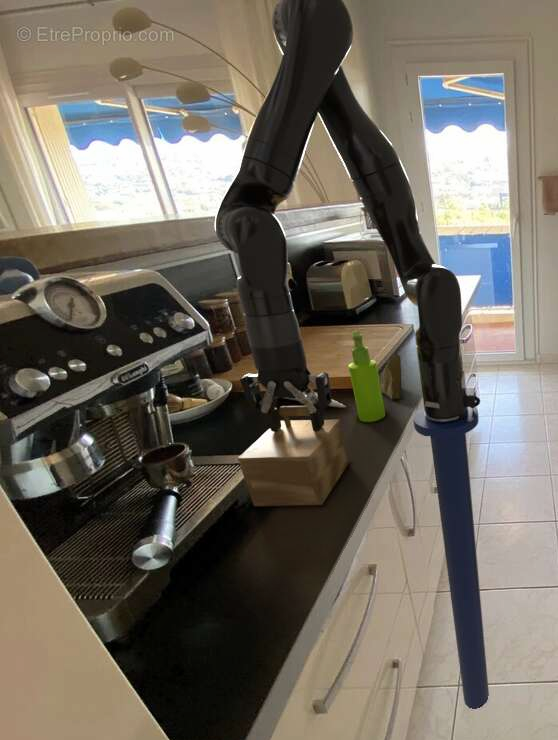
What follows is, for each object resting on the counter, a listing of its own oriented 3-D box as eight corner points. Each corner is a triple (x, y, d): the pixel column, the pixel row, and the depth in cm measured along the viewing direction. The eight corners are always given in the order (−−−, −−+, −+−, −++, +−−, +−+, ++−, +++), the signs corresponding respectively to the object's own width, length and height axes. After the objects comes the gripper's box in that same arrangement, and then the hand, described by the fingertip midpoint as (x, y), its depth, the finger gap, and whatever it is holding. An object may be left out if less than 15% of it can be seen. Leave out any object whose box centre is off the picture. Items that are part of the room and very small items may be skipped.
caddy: (288, 465, 86) (277, 425, 82) (348, 464, 86) (339, 424, 83) (253, 506, 75) (238, 462, 71) (322, 504, 75) (310, 461, 71)
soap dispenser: (384, 407, 109) (370, 327, 100) (386, 419, 103) (371, 335, 95) (358, 411, 107) (342, 330, 99) (359, 424, 101) (342, 339, 93)
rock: (409, 392, 111) (419, 372, 119) (383, 368, 107) (395, 350, 116) (380, 414, 115) (391, 393, 123) (354, 391, 111) (368, 372, 120)
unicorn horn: (334, 415, 105) (330, 396, 103) (267, 398, 115) (262, 381, 113) (349, 407, 109) (345, 389, 107) (283, 391, 119) (279, 375, 117)
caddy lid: (279, 424, 83) (272, 401, 81) (340, 423, 83) (335, 399, 81) (238, 462, 71) (229, 436, 69) (310, 460, 71) (303, 434, 69)
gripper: (329, 332, 76) (345, 420, 83) (244, 333, 76) (267, 420, 83) (309, 345, 69) (329, 439, 76) (216, 346, 69) (244, 440, 76)
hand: (297, 429), depth 79 cm, fingers open, 6 cm apart
